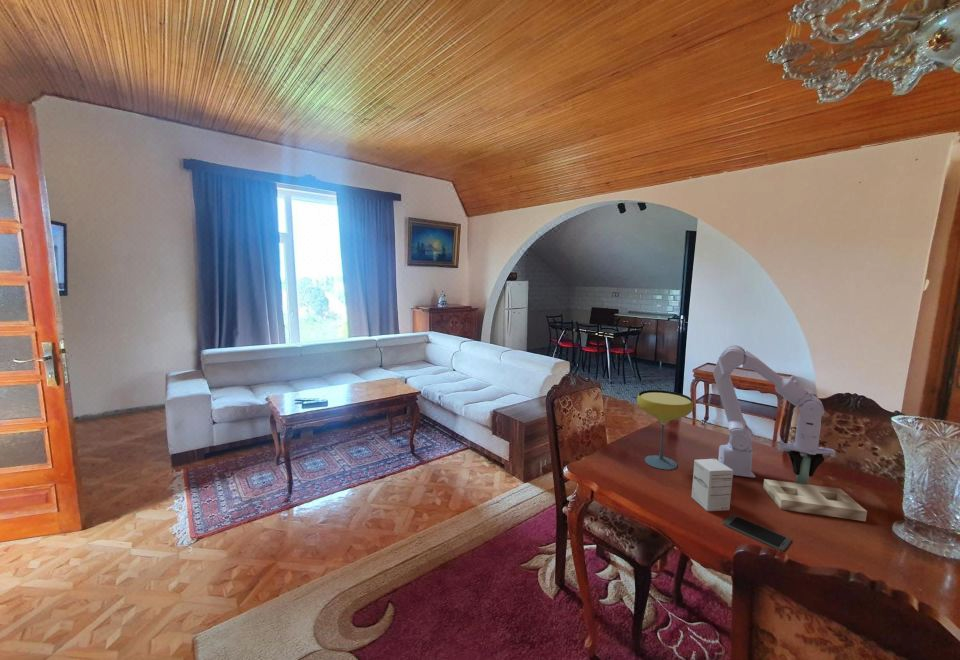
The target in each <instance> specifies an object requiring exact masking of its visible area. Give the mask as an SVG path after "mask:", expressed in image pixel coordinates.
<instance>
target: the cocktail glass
mask: <svg viewBox="0 0 960 660" xmlns="http://www.w3.org/2000/svg"><path fill="white" fill-rule="evenodd" d="M636 400H637V401H636V402H637V405H638V407H639V408H640V409H641V410H642V411H643V412H645V413H646V414H648V415H650V416H651V417H654V418H655V419H657V421H658V422H659V423H660V424H661V438H660V447H659V448H660V449H659V450H660V451H659V455H656V454H653V455H647V456H646V457H645V458H644V461H645V463H646V464H647V465H648V466H650V467H652V468H654V467H655V469H657V468H658V470H662V469H663V470H665V471H671V469H672V470H675V469H677V468H678V464H677V462H676V461H674V460H673V459H672V458H670V457H666V456H664V453H663V452H664V451H663V450H664V431H665V425H667V424H668V422H670V421H673V420H676V419H681V418H684V417H686V416H689V415H690V414H691V413H692V412H693V409H694V400H693V399H692V398H691V397H690V396H688V395H685V394H683V393H678V392H676V391H669V390H659V389H650V390H643V391H640V392H638V395H637V398H636ZM669 458H670V459H669ZM663 470H662V471H663Z"/></svg>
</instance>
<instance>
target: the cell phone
mask: <svg viewBox="0 0 960 660" xmlns="http://www.w3.org/2000/svg"><path fill="white" fill-rule="evenodd" d="M721 524H722V525H723V526H725V527H727V528H728V529H730V530H733V531H735V532H737V533H740V534H742V535H744V536H746V537H748V538H750V539H752V540H754V541H757V542H759V543H761V544H762V545H765V546H767V547H770V548H772V549H774V548H775V549H774V550H776V549H778V550H781V551H783V552H786V550H787V549H789V546H790V545H791V544H792V541H793V540H792V539H791V538H790V537H788V536H785V535H783V534H782V533H779V532H777V531H774V530H771V529H769V528H767V527H765V526H762V525H760V524H758V523H755V522H754V521H750V520H748V519H745V518H743V517H742V516H739V515H736V514H735V513H732V514H730V515H729V516H728V517H726V518H725V520H723V521H722V523H721ZM778 550H777V551H778ZM781 551H780V552H781ZM783 552H782V553H783Z"/></svg>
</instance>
